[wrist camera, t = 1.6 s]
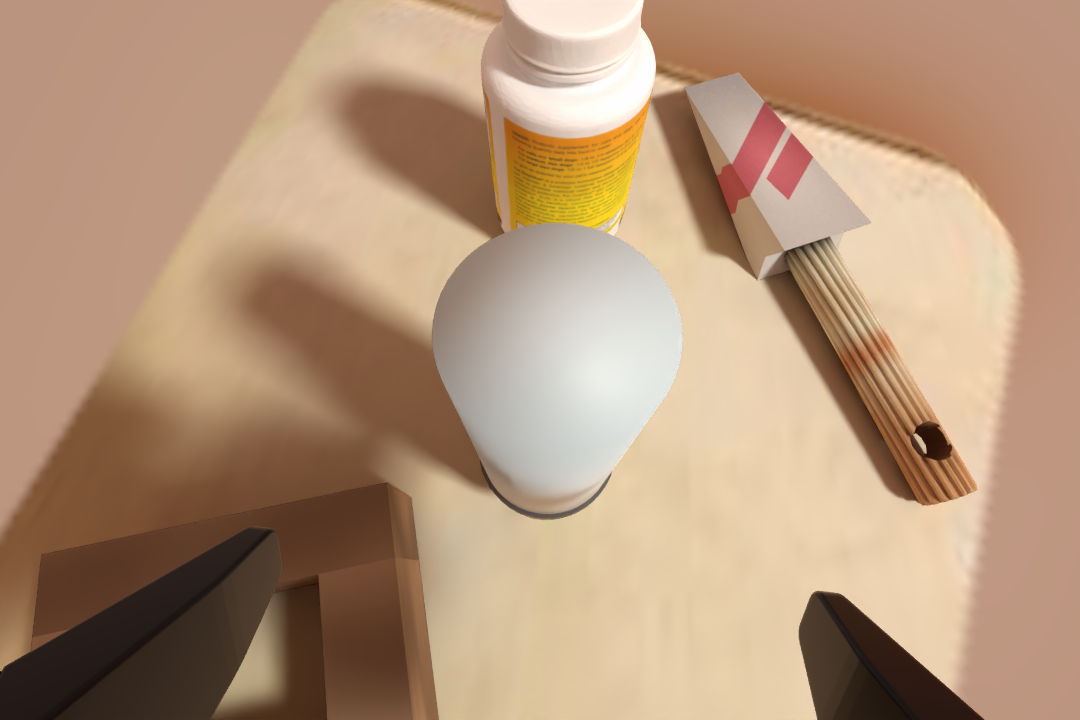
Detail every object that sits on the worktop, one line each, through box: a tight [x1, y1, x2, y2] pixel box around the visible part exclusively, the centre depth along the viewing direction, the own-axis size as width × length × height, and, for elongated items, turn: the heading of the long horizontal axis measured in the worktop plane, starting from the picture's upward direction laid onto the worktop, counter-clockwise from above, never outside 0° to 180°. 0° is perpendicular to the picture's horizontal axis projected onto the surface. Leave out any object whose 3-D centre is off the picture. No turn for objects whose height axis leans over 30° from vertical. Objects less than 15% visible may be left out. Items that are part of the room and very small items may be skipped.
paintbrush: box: [684, 73, 977, 505], centre depth 23 cm, size 4×3×20 cm
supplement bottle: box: [481, 0, 656, 236], centre depth 20 cm, size 6×6×10 cm
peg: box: [432, 223, 683, 520], centre depth 15 cm, size 4×4×12 cm
